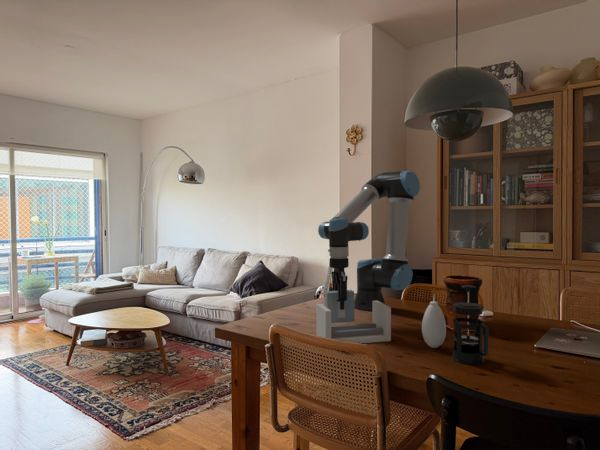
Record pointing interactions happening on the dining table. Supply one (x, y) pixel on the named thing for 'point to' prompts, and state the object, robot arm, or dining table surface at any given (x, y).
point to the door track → (376, 317)
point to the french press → (468, 351)
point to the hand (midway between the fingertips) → (339, 315)
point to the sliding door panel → (332, 305)
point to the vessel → (460, 296)
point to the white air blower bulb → (434, 325)
